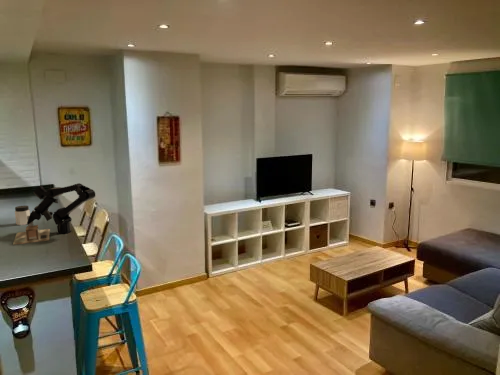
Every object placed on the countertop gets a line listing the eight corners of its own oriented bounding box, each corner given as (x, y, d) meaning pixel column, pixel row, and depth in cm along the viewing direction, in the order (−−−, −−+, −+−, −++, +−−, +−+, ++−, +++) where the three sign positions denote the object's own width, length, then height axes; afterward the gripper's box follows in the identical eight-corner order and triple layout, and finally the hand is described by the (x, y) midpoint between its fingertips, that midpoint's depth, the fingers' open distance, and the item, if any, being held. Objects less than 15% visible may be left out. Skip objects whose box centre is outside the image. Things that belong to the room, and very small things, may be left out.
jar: (14, 224, 286) (12, 207, 284) (25, 221, 293) (23, 205, 291) (21, 225, 282) (19, 208, 280) (33, 222, 289) (31, 206, 287)
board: (49, 230, 268) (49, 228, 268) (49, 240, 246) (48, 238, 246) (17, 234, 261) (17, 232, 261) (13, 244, 238) (13, 243, 238)
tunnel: (39, 235, 252) (37, 225, 251) (38, 239, 244) (37, 228, 243) (28, 237, 249) (26, 226, 248) (27, 240, 242) (25, 229, 241)
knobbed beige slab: (38, 230, 264) (37, 214, 262) (37, 238, 246) (35, 221, 244) (28, 231, 262) (26, 215, 260) (26, 239, 244) (23, 222, 242)
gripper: (55, 215, 255) (37, 234, 253) (57, 209, 272) (41, 227, 270) (39, 203, 251) (21, 223, 249) (43, 198, 268) (26, 216, 266)
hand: (28, 223), depth 259 cm, fingers closed on knobbed beige slab, 3 cm apart
